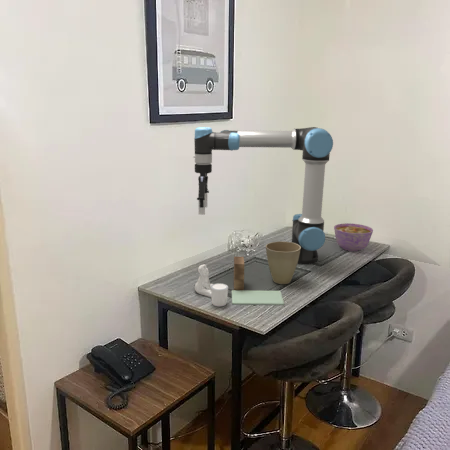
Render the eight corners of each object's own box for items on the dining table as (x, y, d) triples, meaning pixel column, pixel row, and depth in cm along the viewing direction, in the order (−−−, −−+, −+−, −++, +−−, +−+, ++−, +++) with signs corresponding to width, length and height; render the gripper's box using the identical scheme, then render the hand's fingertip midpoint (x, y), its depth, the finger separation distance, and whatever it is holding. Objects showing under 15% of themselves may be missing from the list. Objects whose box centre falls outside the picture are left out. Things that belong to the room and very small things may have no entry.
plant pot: (291, 273, 207) (293, 240, 203) (303, 286, 193) (306, 250, 189) (260, 275, 204) (261, 242, 200) (270, 289, 190) (271, 252, 186)
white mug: (228, 306, 173) (229, 289, 171) (210, 307, 173) (211, 290, 171) (227, 299, 180) (227, 282, 178) (210, 299, 179) (210, 283, 177)
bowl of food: (363, 243, 253) (365, 223, 250) (376, 255, 234) (378, 233, 230) (328, 243, 252) (329, 223, 249) (338, 255, 233) (339, 233, 230)
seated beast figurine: (213, 298, 181) (213, 269, 177) (191, 296, 182) (191, 268, 179) (217, 288, 190) (217, 261, 186) (197, 287, 191) (197, 260, 188)
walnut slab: (242, 282, 196) (243, 256, 193) (243, 291, 187) (244, 264, 184) (233, 282, 196) (234, 256, 193) (234, 291, 187) (234, 263, 184)
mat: (280, 292, 187) (280, 290, 187) (284, 304, 176) (284, 303, 175) (231, 291, 187) (231, 290, 187) (232, 304, 175) (232, 302, 175)
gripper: (197, 159, 211) (197, 204, 217) (191, 167, 187) (191, 217, 193) (213, 160, 211) (213, 204, 217) (209, 167, 187) (209, 217, 192)
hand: (203, 210), depth 205 cm, fingers open, 13 cm apart
